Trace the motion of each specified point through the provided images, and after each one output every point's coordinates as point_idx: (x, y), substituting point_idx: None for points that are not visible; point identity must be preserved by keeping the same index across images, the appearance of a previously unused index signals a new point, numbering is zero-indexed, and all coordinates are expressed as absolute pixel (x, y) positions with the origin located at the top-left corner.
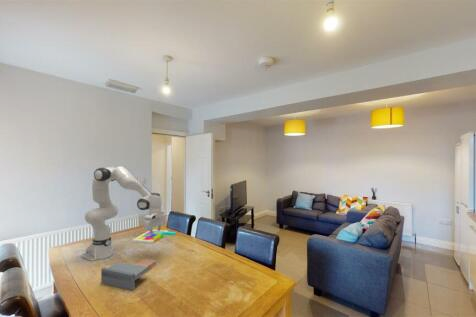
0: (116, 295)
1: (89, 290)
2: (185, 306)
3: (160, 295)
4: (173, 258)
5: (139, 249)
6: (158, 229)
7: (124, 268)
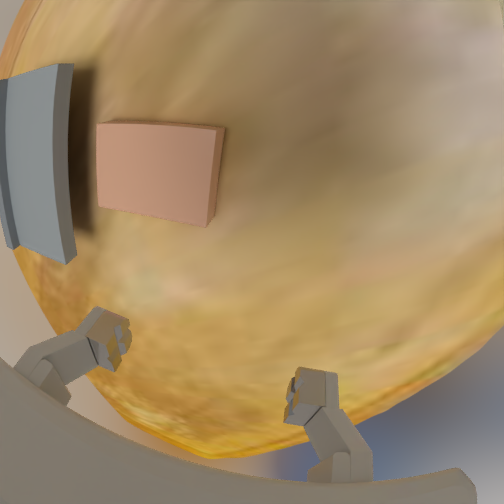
0: None
1: None
2: None
3: (68, 306)
4: (301, 287)
5: (428, 4)
6: (296, 397)
7: (25, 161)
